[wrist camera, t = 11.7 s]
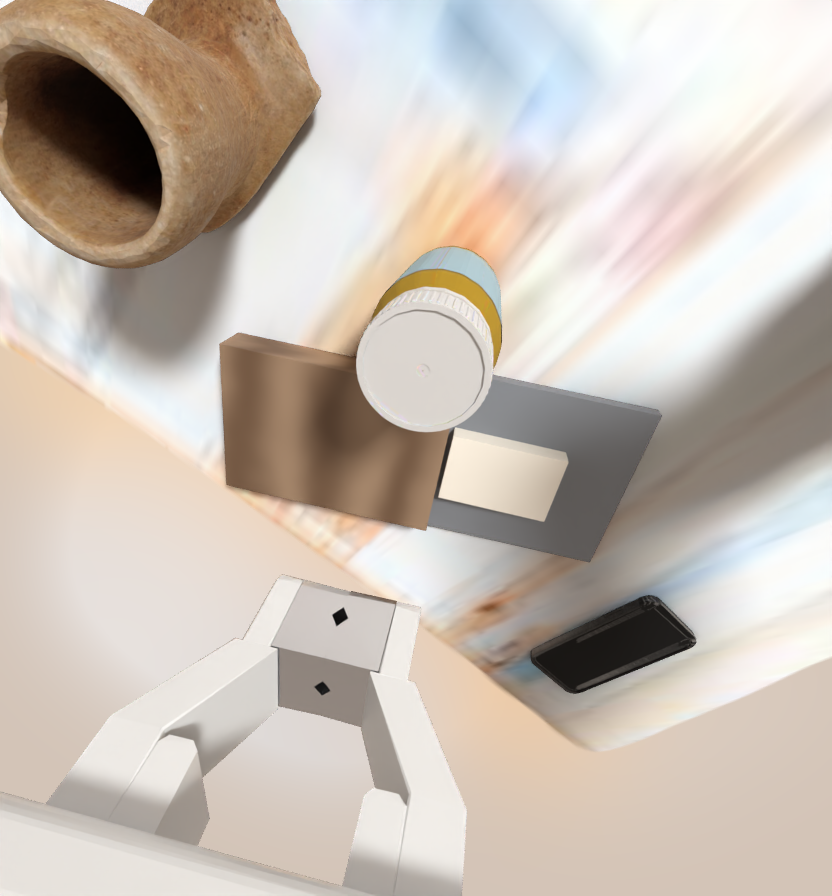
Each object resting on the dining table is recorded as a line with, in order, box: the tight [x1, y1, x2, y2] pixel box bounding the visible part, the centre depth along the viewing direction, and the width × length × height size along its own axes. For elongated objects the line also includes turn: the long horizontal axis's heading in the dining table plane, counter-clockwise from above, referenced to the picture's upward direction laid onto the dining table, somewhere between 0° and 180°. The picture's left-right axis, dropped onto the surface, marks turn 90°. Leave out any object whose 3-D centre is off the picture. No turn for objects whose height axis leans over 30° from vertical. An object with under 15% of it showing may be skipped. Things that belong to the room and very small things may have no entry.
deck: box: [219, 333, 450, 531], centre depth 39 cm, size 18×13×3 cm
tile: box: [438, 427, 568, 522], centre depth 38 cm, size 9×6×2 cm, turn 80°
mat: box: [427, 375, 662, 562], centre depth 39 cm, size 15×15×1 cm
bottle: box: [356, 246, 502, 432], centre depth 27 cm, size 7×7×15 cm
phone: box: [531, 595, 696, 694], centre depth 49 cm, size 8×1×15 cm
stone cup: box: [0, 0, 321, 268], centre depth 24 cm, size 15×12×15 cm
